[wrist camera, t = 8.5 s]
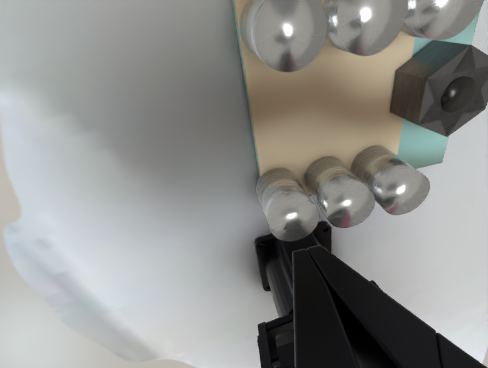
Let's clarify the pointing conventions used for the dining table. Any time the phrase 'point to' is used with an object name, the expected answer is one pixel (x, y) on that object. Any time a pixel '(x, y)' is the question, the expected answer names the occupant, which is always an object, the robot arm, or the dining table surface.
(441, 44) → the nut
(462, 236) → the dining table surface
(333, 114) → the board
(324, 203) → the spacers
